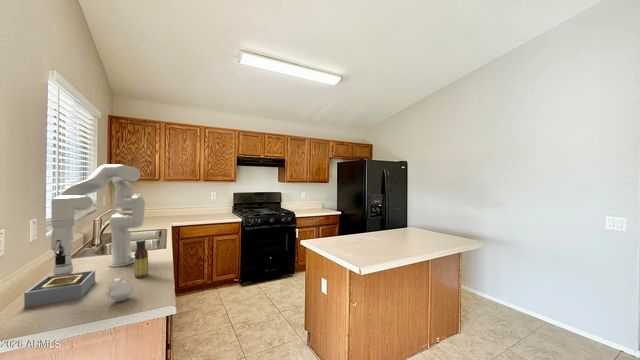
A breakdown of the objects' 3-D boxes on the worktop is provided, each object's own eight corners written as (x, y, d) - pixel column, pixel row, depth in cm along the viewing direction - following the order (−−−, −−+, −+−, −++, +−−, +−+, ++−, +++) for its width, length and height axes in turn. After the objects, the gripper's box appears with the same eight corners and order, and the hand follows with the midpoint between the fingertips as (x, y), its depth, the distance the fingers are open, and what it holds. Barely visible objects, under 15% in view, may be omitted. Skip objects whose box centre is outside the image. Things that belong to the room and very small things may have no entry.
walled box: (95, 281, 133) (95, 270, 133) (81, 298, 115) (81, 284, 115) (47, 288, 125) (47, 276, 124) (24, 307, 107) (24, 293, 107)
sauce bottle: (139, 274, 143) (138, 238, 143) (150, 273, 144) (150, 238, 144) (131, 278, 137) (131, 241, 137) (143, 278, 137) (143, 241, 137)
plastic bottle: (76, 274, 122) (76, 232, 122) (58, 279, 115) (57, 235, 115) (68, 272, 124) (67, 231, 124) (49, 277, 118) (49, 233, 117)
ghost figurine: (111, 298, 115) (111, 275, 115) (136, 294, 119) (136, 273, 119) (102, 307, 107) (102, 283, 107) (129, 303, 110) (129, 280, 110)
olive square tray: (83, 284, 127) (83, 274, 127) (74, 293, 118) (74, 282, 117) (52, 288, 122) (52, 278, 122) (41, 298, 112) (41, 287, 112)
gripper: (60, 221, 125) (60, 258, 125) (43, 227, 110) (43, 269, 110) (80, 220, 129) (80, 256, 129) (66, 225, 114) (66, 266, 114)
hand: (63, 262), depth 120 cm, fingers closed on plastic bottle, 5 cm apart
